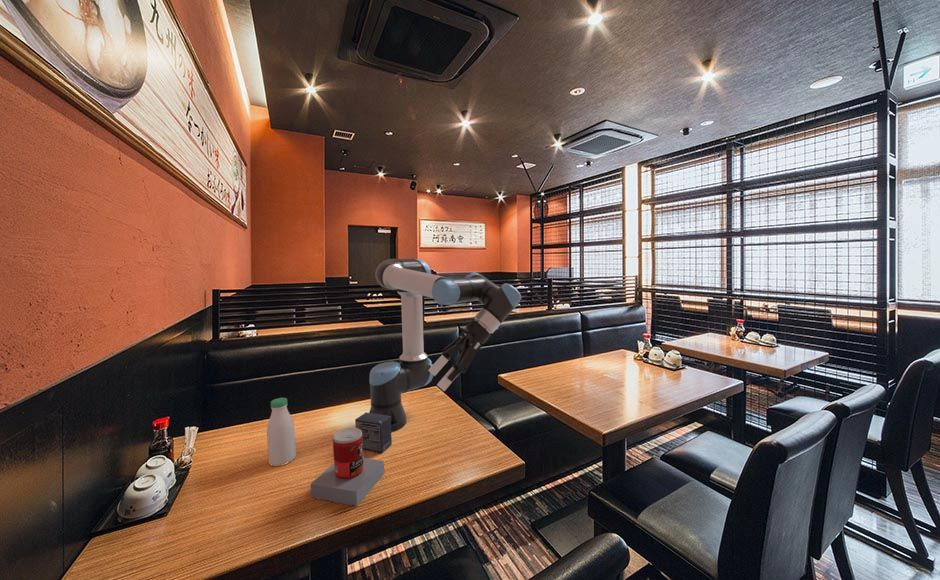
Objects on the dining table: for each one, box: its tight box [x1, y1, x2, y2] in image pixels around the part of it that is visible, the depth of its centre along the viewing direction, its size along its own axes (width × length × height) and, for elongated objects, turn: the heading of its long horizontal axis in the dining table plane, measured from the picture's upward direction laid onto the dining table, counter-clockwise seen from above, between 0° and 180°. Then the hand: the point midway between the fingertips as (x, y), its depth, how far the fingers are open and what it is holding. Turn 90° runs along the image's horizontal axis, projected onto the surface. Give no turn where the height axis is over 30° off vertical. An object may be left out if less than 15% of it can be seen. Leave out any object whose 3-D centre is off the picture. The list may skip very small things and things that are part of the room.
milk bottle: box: [266, 397, 297, 466], centre depth 108 cm, size 8×8×20 cm
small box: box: [355, 412, 393, 454], centre depth 115 cm, size 11×6×10 cm, turn 71°
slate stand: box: [310, 457, 385, 507], centre depth 95 cm, size 14×14×4 cm
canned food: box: [332, 427, 364, 479], centre depth 95 cm, size 8×8×11 cm
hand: (435, 380), depth 100 cm, fingers open, 13 cm apart
